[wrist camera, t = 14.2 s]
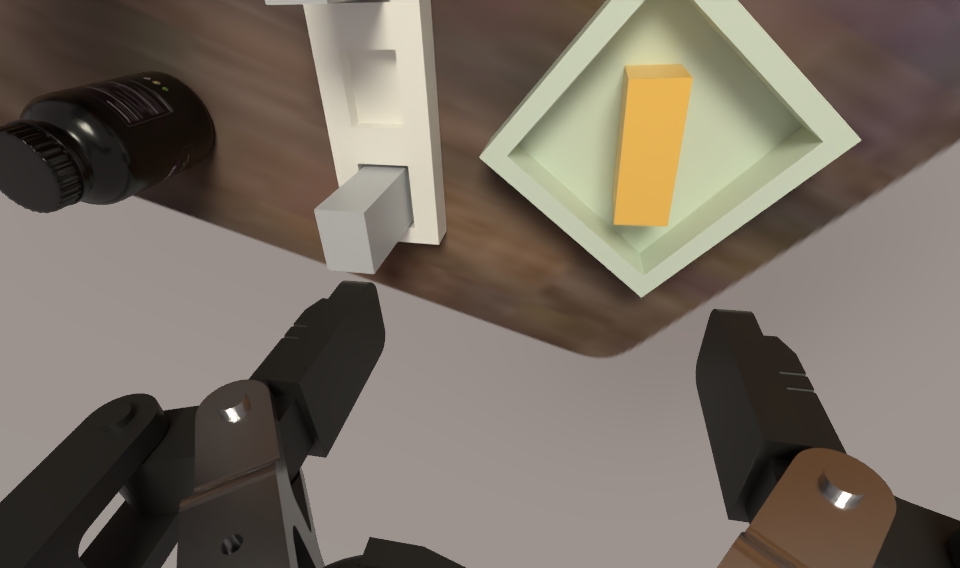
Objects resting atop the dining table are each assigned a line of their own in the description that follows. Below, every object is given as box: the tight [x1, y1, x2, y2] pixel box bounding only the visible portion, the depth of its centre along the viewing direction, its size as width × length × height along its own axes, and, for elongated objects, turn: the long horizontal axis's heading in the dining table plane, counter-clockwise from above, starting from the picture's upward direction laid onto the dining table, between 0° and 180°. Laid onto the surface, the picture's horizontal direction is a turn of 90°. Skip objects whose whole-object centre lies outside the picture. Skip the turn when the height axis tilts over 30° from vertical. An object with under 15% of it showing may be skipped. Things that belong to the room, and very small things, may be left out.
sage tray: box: [479, 0, 861, 298], centre depth 28 cm, size 14×14×4 cm
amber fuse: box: [612, 64, 693, 227], centre depth 27 cm, size 4×3×8 cm
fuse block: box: [303, 0, 447, 245], centre depth 30 cm, size 21×7×2 cm, turn 1°
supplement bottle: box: [0, 72, 214, 213], centre depth 31 cm, size 7×7×12 cm
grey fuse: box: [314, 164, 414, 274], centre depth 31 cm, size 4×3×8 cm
